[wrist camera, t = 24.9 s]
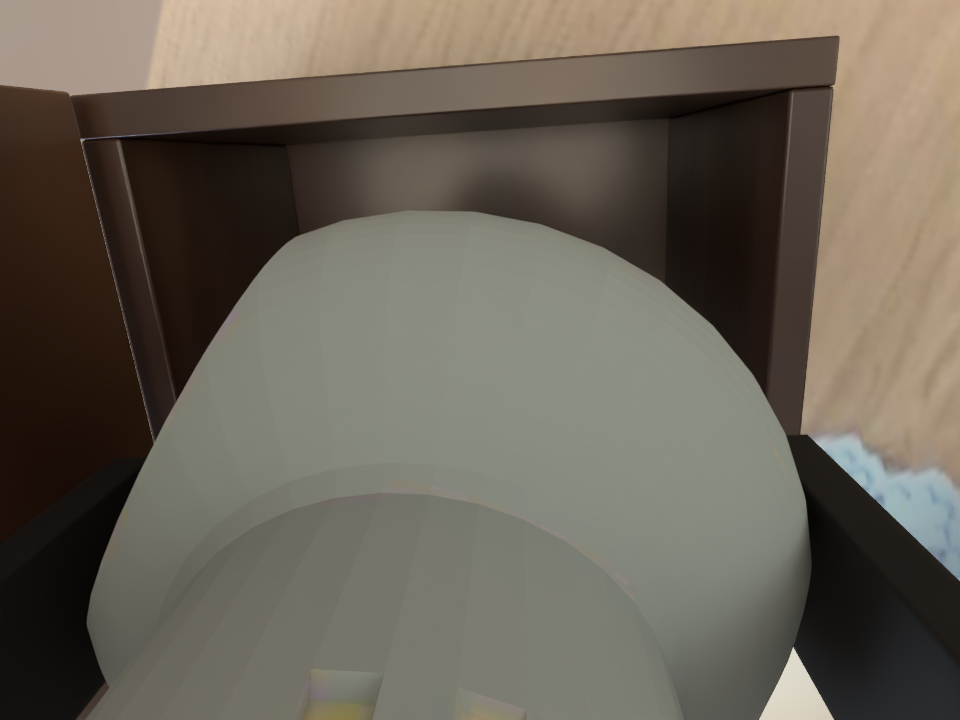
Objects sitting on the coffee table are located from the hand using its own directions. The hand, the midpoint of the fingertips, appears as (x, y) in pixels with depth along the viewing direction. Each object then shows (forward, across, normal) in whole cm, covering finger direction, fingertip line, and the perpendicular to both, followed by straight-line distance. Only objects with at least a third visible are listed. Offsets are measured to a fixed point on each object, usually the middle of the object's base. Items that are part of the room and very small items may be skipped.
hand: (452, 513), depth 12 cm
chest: (+15, 0, 0) cm, 15 cm away
